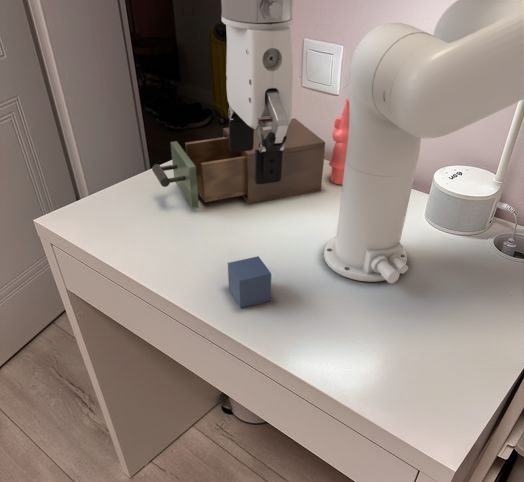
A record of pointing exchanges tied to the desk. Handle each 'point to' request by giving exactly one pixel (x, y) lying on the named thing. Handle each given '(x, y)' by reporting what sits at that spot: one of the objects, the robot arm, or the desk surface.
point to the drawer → (206, 170)
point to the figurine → (340, 146)
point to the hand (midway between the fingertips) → (253, 165)
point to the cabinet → (288, 165)
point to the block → (249, 281)
